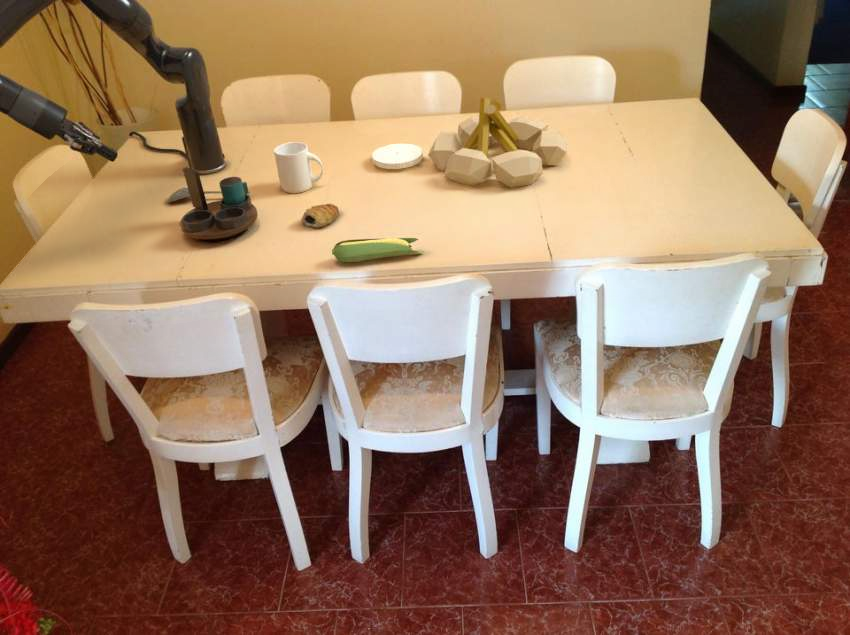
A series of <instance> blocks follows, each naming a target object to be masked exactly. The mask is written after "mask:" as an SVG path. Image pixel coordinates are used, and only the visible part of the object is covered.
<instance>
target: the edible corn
mask: <svg viewBox="0 0 850 635" xmlns="http://www.w3.org/2000/svg"><path fill="white" fill-rule="evenodd" d="M418 240H419V238H416V237H393V238H392V237H391V238H388V237H387V238H362V239H361V238H360V239H359V238H358V239H357V238H356V239H347V240H341V241H339V242H337V243H336V244H335V245H334V246H333V248H332V249H331V254H332V255H331V256H334V257H335V259H336V260H338V261H339V262H340V263H343V264H352V263H360V262H361V263H362V262H367V261H372V260H380V259H385V258H394V257H401V256H402V257H403V256H411V255H420V254H424V253H425V251H424V250H413V246H412V245H410V244H412V243H415V242H416V241H418Z"/></svg>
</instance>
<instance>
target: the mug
mask: <svg viewBox="0 0 850 635" xmlns="http://www.w3.org/2000/svg"><path fill="white" fill-rule="evenodd" d="M273 153H274V159H275V163H276V169H277V173H278V179H279V184H280V188H281V189H282V191H284V193H287V194H288V193H289V194H300V193H303V192H306V191H309V190H311V189H312V188H313V186H314V183H317V182H319V181H320V180H321V179H322V178H323V175H324V166H323V163H322V161H321V159H320V158H319V157H318V156H317V155H315V154H314V153H311V152H309V147H308V145H307V144H306V143H305V142H301V141H291V142H286V143H282V144H279V145H278V146H276V147H274V148H273ZM311 161H314V162H317V163H318V164H319V165H320V168H321V171H320V174H318V175H314V174H313V170H312V164H311Z"/></svg>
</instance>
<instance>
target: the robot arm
mask: <svg viewBox="0 0 850 635" xmlns="http://www.w3.org/2000/svg"><path fill="white" fill-rule="evenodd" d="M57 1H58V0H0V50H1V49H2V48H3V47H5V45H6V44H7V43H8V42H10V40H11V39H12V38H13V37H14V36H15V35H16V34H17V33H19V31H20V30H21V29H23V27H25V26H26V25H27V24H28V23H29V22H30V21H31V20H33V19H34V18H35V17H37V16H38V15H39V14H41V13H42V12H43V11H45V10H46V9H48V8H49V7H51V6H52V5H53V4H54V3H56V2H57ZM79 1H80V2H81V3H82V5H83V6H85V7H86V9H87V10H88V11H89V12H90V13H92V14H93V16H94V17H96V18H97V19H98V20H99V21H100V22H102V23H103V24H104V26H105V27H106V28H108V30H110V31H111V32H112V33H113V34H115V36H117V37H118V38H119V39H121V40H122V41H123V42H125V43H126V44H127V45H128V46H129V47H130V48H131V49H133V50H134V51H135V52H136V53H137V54H138V55H140V56H141V57H142V58H143V59H144V60H145V61H146V62H147V64H149V65H150V67H151V68H152V69H153V70H154V71H155V73H157V74H158V75H159V76H160V77H161V78H162V79H163V80H164V81H166V82H168V83H170V84H174V85H184V87H185V94H183V95H181V96H179V97H177V98H176V99H175V100H174V106H175V111H176V113H177V117H178V122H179V126H180V128H181V132H182V135H183V136H182V137H181V141H182V145H183V148H184V151H183V150H181V149H177V148H161V147H154V146H152V145H149V144H148V143H147V139H146V137H145V136H144V135H142V134H141V133H139V132H137V131H130V132H129V134H128V136H129V137H132V136H133V135H135V136H137V137H139V138H140V139H141V140H142V144H143V146H144V147H145V148H147V149H149V150H152V151H156V152H161V153H162V152H163V153H177V154H180V155H182V156H183V157H184V158H185V159H186V160H187V163H188V168H190V169H193V170H195V171H198V172H199V175H210V174H214V173H217V172H220V171H222V170H223V169H225V168H226V166H227V163H226V160H225V159H226V157H225V153H224V152H223V147H222V144H221V140H220V135H219V132H218V128H217V123H216V119H215V115H214V111H213V107H212V103H211V102H212V101H211V88H210V87H211V86H210V82H209V77H208V71H207V66H206V62H205V59H204V56H203V55H202V53H201V51H200V50H199V49H197V48H195V47H193V46H192V47H191V46H172V45H169V44H167V43H166V42H165V41H164V40H162V39H161V38H160V37H159V36H158V35H157V34H156V31H155V24H154V20H153V18H152V16H151V14H150V12H149V11H148V10H147V8H145V7H144V6H143V5H142V4H141V3H140V2H139V1H138V0H79ZM0 113H2V114H3V115H5V116H7V117H9V118H10V119H12V120H13V121H15V122H16V123H18V124H19V125H21V126H23V127H25V128H27V129H28V130H30V131H32V132H34V133H35V134H38V135H40V136H41V137H43V138H45V139H47V140H48V141H50V140H53V139H54V138H55V136H58V137H59V138H60V139H61V140H63V142H65V143H66V144H68V145H70V146H69V149H70V150H71V151H74V152H78V153H82V154H86V155H88V156H89V155H90V156H94V155H99V156H101V157H103V158H104V159H106V160H108V161H109V162H112V163H113V162H115V161H116V159H117V158H118V151H116V150H115V149H113V148H111V147H109V146H108V145H106V144H105V143H103V141H102V140H101V137H100V136H99V135H97V134H96V133H95V132H94V131H93V130H92V129H91V128H90V127H88V126H87V125H86V124H85V123H84V122H83V121H78V122H77V121H73V120H72V119H71V120H70V119H68V118H67V115H68V109H66V108H65V107H63V106H61V105H60V104H58V103H56V102H55V101H53V100H51V99H50V98H48V97H46V96H44V95H43V94H41V93H40V92H37V91H35V90H34V89H31V88H28V87H26V86H25V85H23V84H21V83H19V82H18V81H16V80H14V79H13V78H11V77H9V76H7V75H5V74H3V73H0Z"/></svg>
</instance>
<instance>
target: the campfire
mask: <svg viewBox="0 0 850 635" xmlns="http://www.w3.org/2000/svg"><path fill="white" fill-rule="evenodd" d="M502 107H503V105H502V104H500V102H498V101H497V100H493V101H492V102H491V98H489V97H482V98H480V99H479V114H478V115H476V116H470V117H468V118H467V119H465V120H463V121H461V122H459V123H458V126H457V131H440V132H439V133H438V134H437V135H436V138H435V140H434V141H433V144H432V145H431V147H430V149H429V152H428V154H427V156H428V157H429V159H430V160H431V162H432V163H433V166H435V168H436V169H438V170H443V171H444V170H445V171H444V175H443V177H444V178H446V179H449V180H451V181H453V182H456V183H458V184H462V185H466V186H467V185H468V186H474V185H477V184H478V185H479V184H481V183H484V182H485V181H487V180H488V179H489V178H490V177H491V176H492V165H493V169H494V175H495V179H496V180H498V181H500V182H501V183H503V184H504V185H506V186H508V187H510V188H511V189H512V188H518V187H522V186H530V185H532V184H533V183H535V182H536V180H538V179H539V178H540V177H541V176H542V175H543V174H544V172H543V171H544V169H543V166H549V167H551V166H553V167H554V166H555V167H557V166H559V164H560V163H561V161H562V160H563V158H564V157H565V156H566V154H567V153H568V143H567V141H566V139H565V138H564V136H563V135H562V133H561V131H559V130H558V131H557V130H556V131H553V130H552V131H551V130H550V131H549V130H548V129H549V125H550V124H549V123H548V122H546V121H543V120H540V119H538V118H536V117H530V116H520V117H515V118H513V119H511V120H509V121H507V120H506V119H505V117H504V116H503V115H502V113H501V112H500V111H501V109H502ZM495 142H496V143H497V144H498V145H499V147H500V148H501V149H502V150H503V151H504V152H505V153H502V154H498V155H496V156H494V157H491V160H492V162H491V160H490V159H489V147H490V148H491V147H492V146H493V144H494V143H495Z"/></svg>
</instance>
